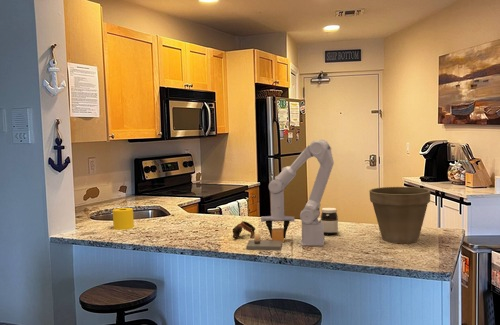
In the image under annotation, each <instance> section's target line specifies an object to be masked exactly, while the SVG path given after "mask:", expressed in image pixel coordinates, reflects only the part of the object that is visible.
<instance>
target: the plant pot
mask: <svg viewBox="0 0 500 325" xmlns="http://www.w3.org/2000/svg"><path fill="white" fill-rule="evenodd" d="M368 192H369V200H370V203H372V205H373V206H372V207H373V211H374V213H375V217H376V221H377V224H378V228H379V232H380V235H381V238H382V239H383V241H385V242H388V243H392V244H412V243H416V242H418V240H419V238H420V236H421V231H422V227H423V224H424V220H425V216H426V213H427V208H428V204H429V203H431V190H430V189H428V188H424V187H417V186H415V187H414V186H385V187H377V188H371V189H370V190H368Z"/></svg>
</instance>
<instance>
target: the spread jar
mask: <svg viewBox="0 0 500 325" xmlns="http://www.w3.org/2000/svg"><path fill="white" fill-rule="evenodd" d="M337 210H338V209H337V208H336V207H323V208H321V213H320V217H318V218H317V219H318V221H319V223H323V225H324V236H328V237H329V236H330V237H331V236H336V235H338V233H339V227H338V226H339V218H338V213H337Z"/></svg>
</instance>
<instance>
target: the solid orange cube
mask: <svg viewBox="0 0 500 325" xmlns="http://www.w3.org/2000/svg"><path fill="white" fill-rule="evenodd" d="M271 240H282V243H284V242H285V238H284V227H283V228H277V227H276V228H274V227H272V238H271Z"/></svg>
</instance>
